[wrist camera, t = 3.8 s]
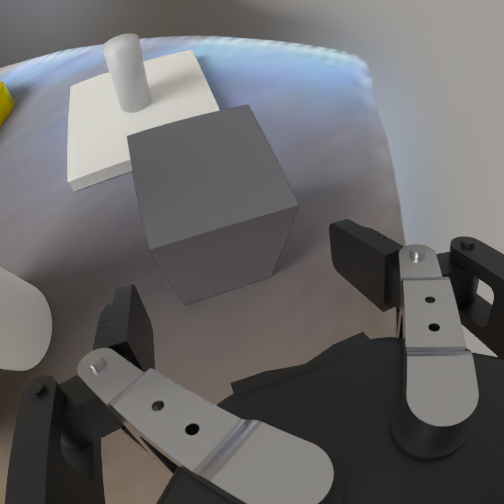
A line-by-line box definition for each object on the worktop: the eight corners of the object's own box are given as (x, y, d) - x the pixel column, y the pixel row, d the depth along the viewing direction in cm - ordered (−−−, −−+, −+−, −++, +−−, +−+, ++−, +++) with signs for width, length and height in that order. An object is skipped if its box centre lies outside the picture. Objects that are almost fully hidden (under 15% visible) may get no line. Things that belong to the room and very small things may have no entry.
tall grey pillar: (184, 304, 21) (148, 250, 12) (162, 225, 23) (126, 136, 14) (271, 276, 22) (299, 205, 13) (241, 202, 24) (248, 104, 15)
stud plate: (74, 191, 24) (30, 127, 16) (74, 95, 28) (51, 37, 20) (229, 143, 26) (230, 64, 18) (193, 59, 31) (188, -3, 23)
